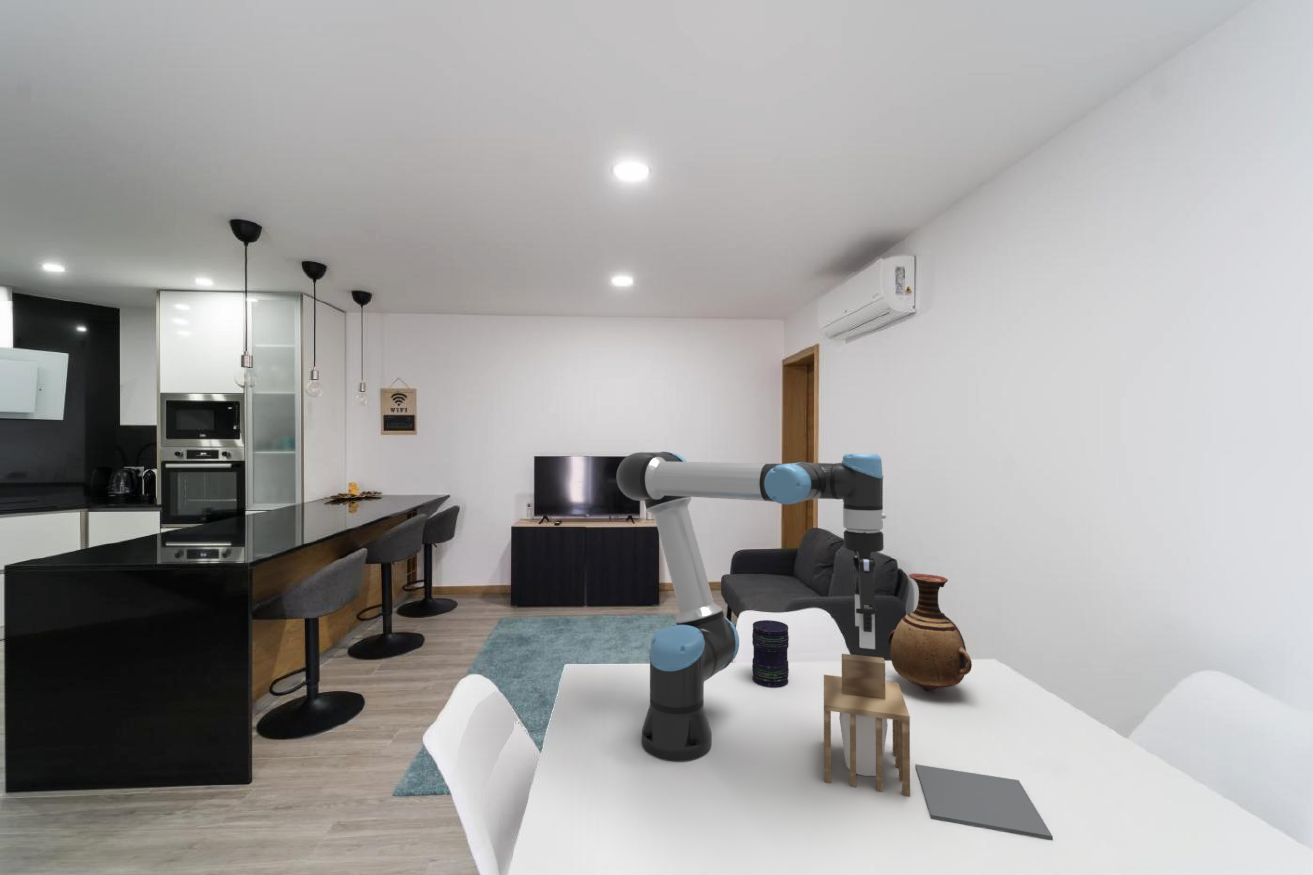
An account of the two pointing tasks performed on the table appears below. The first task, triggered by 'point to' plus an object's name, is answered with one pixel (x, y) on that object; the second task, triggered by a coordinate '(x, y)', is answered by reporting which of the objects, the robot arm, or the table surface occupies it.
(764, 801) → the table surface
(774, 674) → the dark blue cylinder
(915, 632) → the vase
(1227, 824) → the table surface
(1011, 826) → the mat
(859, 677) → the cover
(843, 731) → the cup
